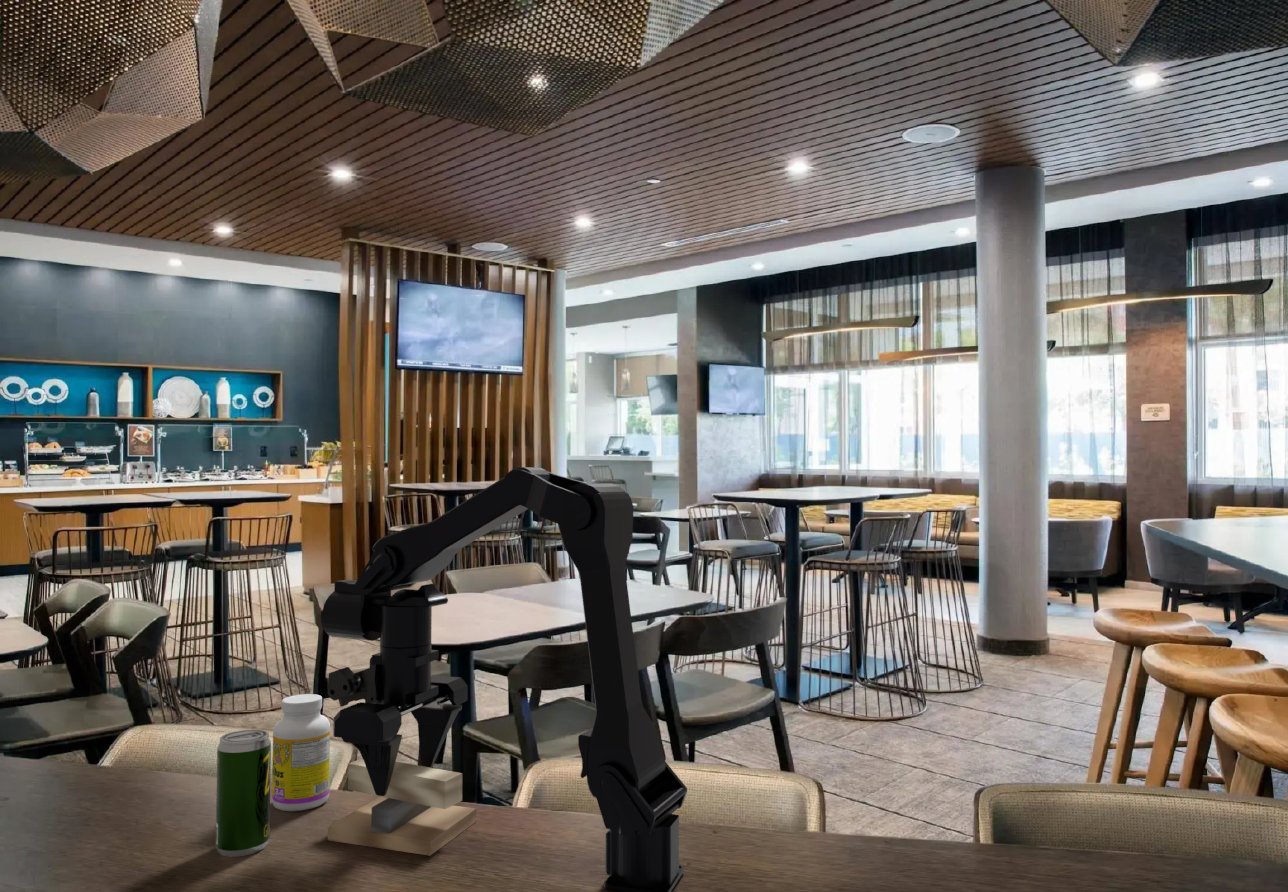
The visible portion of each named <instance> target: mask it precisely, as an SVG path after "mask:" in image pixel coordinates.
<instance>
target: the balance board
mask: <svg viewBox="0 0 1288 892" xmlns="http://www.w3.org/2000/svg"><path fill="white" fill-rule="evenodd" d="M477 813H478V812H477V808H476V807H468V806H460V805H455V804H454V805H452V806H451V807H449V808H447V809H441V808H436V807H431V806H426V805H421V804H416V803H411V802H406V801H401V800H396V799H392V798H387V797H380V796H378V797H377V798H375V799H373V800H372V801H370V802H368V803H367V804H364V805H363V806H361V807H359V808H358V809H355V810H354V811H353V812H351V813H349V814H347V815H345V816H343V817H342V818H341V819H339V820H336V821H335V822H333V823H332V824H329V825H328V826H327V841H331V842H337V843H343V844H349V845H357V846H363V847H370V848H377V849H383V850H391V851H396V852H404V853H411V854H416V855H417V854H418V855H424V856H432V855H434V854H435V853H436V852H437V851H438V850H440V849H441V848H443V847H444V846H445V845H447V844H449V842H451V841H452V840H453V839H455V838H456V837H458V836H459V835H460V834H461V833H463V832H465V831H466V830H467V829H469V828H470V827H472V826H473V825H474V824H475V823H476V822H477V818H478V817H477Z"/></svg>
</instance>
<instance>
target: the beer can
mask: <svg viewBox="0 0 1288 892" xmlns="http://www.w3.org/2000/svg"><path fill="white" fill-rule="evenodd" d="M269 733H270V732H269V731H267V730H263V729H244V730H243V729H242V730H238V731H237V730H235V731H232V732H228V733H226V734H223V735H221V736H219V743H218V746H217V748H216V749H217V752H216V758H217V759H216V805H215V806H216V809H215V810H216V813H215V817H216V818H215V848H216V850H217V852H218V853H219V855H221V856H224V857H228V858H229V857H230V858H231V857H233V858H234V857H235V858H236V857H244V856H249V855H252V854H253V855H254V854H256V853H258V852H260V851H262V850H264V849H265V848H266V847H267V845H268V842H269V840H270V838H271V837H270V835H271V833H270V832H271V831H270V830H271V829H270V828H271V827H270V826H271V819H270V818H271V768H272V767H271V766H272V765H271V763H272V761H271V760H272V759H271V757H272V756H271V755H272V751H271V750H272V743H271V740H270V738H269V737H270V734H269Z"/></svg>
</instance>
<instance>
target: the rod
mask: <svg viewBox="0 0 1288 892" xmlns="http://www.w3.org/2000/svg"><path fill="white" fill-rule="evenodd" d="M347 767H348V774H347V775H348V779H347V780H348V781H347V786H348V787H347V790H349V791H354V792H356V793H357V792H358V793H362V794H367V795H372V796H377V797H379V796H378V795H376V794H375V791H374V788H373V785H372V782H371V779H370V777H369V774H368V771H367V768H366V765H365V762H364V760H363V758H362V757H361V758H360V759H357V760H354V761H352V762H349V763H348V766H347ZM382 797H387V798H392V799H396V800H401V801H406V802H411V803H416V804H421V805H426V806H431V807H436V808H441V809H447V808H449V807H451V806H452V805H454V806H455V805H456V804H459V803H460V802H461V801H462V802H463V773H462V772H458V771H450V770H445V769H441V768H434V767H432V768H430V767H424V766H422V765H417V764H413V763H407V762H401V761H397V760H396V761H395V765H394V769H393V773H392V777H391V781H390V784H389V787H388V790H387V793H386V795H384V796H382Z"/></svg>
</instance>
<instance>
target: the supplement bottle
mask: <svg viewBox="0 0 1288 892" xmlns="http://www.w3.org/2000/svg"><path fill="white" fill-rule="evenodd" d="M322 707H323V697H322V696H321V695H319V694H315V693H305V694H304V693H303V694H302V693H301V694H295V695H290V696H287V697H284V698H283V699H282V700H281V711H282V714H283V718H281V719H279V720H278V721H277V722H276V723H274V724H275V725H274V726H273V729H272V765H271V766H272V767H271V768H272V769H271V771H272V772H271V773H272V774H271V776H272V778H271V787H272V788H271V803H272V806H273V807H274V808H276V809H277V810H279V811H285V812H300V811H301V812H302V811H307V810H310V809H314V808H317V807H320V806H321V805H324V804H325V802H326V801H328V799H329V797H330V773H331V772H330V770H331V769H330V764H331V763H330V762H331V761H330V760H331V759H330V758H331V757H330V756H331V755H330V754H331V753H330V751H331V750H330V748H331V746H330V745H331V744H330V743H331V724H330V720H329V719H328V718H327V717H326V716H325V715H322V714H321V709H322Z"/></svg>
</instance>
